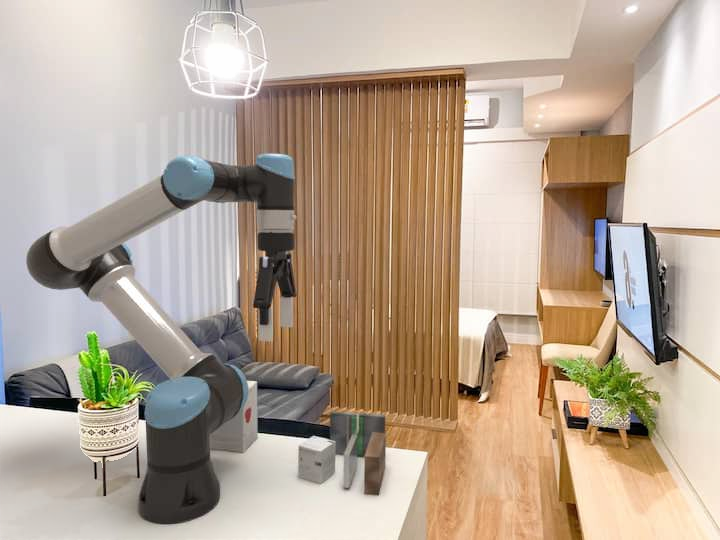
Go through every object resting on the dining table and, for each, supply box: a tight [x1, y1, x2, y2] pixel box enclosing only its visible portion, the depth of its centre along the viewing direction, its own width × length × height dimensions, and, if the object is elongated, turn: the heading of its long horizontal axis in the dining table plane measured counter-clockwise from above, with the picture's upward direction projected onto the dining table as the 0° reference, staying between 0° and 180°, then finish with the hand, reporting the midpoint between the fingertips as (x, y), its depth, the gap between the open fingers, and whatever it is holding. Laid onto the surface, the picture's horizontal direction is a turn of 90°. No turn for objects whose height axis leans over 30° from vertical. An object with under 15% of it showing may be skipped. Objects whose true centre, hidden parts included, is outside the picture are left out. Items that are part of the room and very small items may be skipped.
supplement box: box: [210, 380, 258, 453], centre depth 127 cm, size 9×9×15 cm
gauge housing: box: [329, 411, 387, 496], centre depth 114 cm, size 14×18×10 cm
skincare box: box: [297, 435, 336, 485], centre depth 112 cm, size 6×6×7 cm
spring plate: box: [343, 414, 360, 489], centre depth 113 cm, size 1×15×10 cm, turn 171°
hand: (276, 333), depth 108 cm, fingers open, 13 cm apart
